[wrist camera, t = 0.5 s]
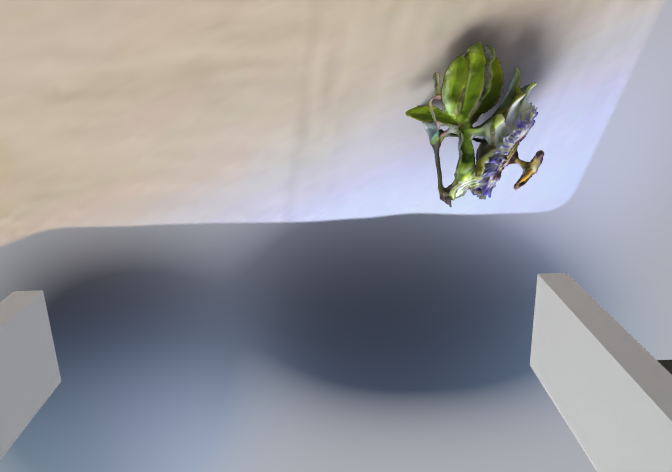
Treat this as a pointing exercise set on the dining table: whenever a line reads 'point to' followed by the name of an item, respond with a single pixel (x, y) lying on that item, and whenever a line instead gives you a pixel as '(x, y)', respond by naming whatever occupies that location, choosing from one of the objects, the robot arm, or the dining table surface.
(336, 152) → the dining table surface
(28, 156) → the dining table surface
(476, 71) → the passion flower
